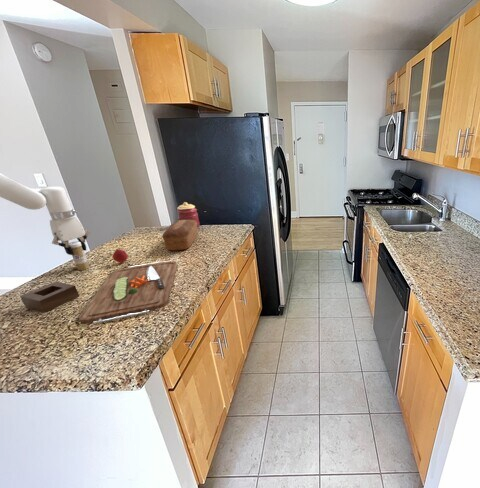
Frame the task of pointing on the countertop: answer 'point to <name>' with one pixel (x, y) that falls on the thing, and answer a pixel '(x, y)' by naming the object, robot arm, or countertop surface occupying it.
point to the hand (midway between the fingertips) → (77, 251)
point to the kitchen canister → (188, 212)
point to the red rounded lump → (120, 255)
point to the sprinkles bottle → (79, 255)
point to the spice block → (49, 296)
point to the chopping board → (131, 292)
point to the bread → (180, 234)
